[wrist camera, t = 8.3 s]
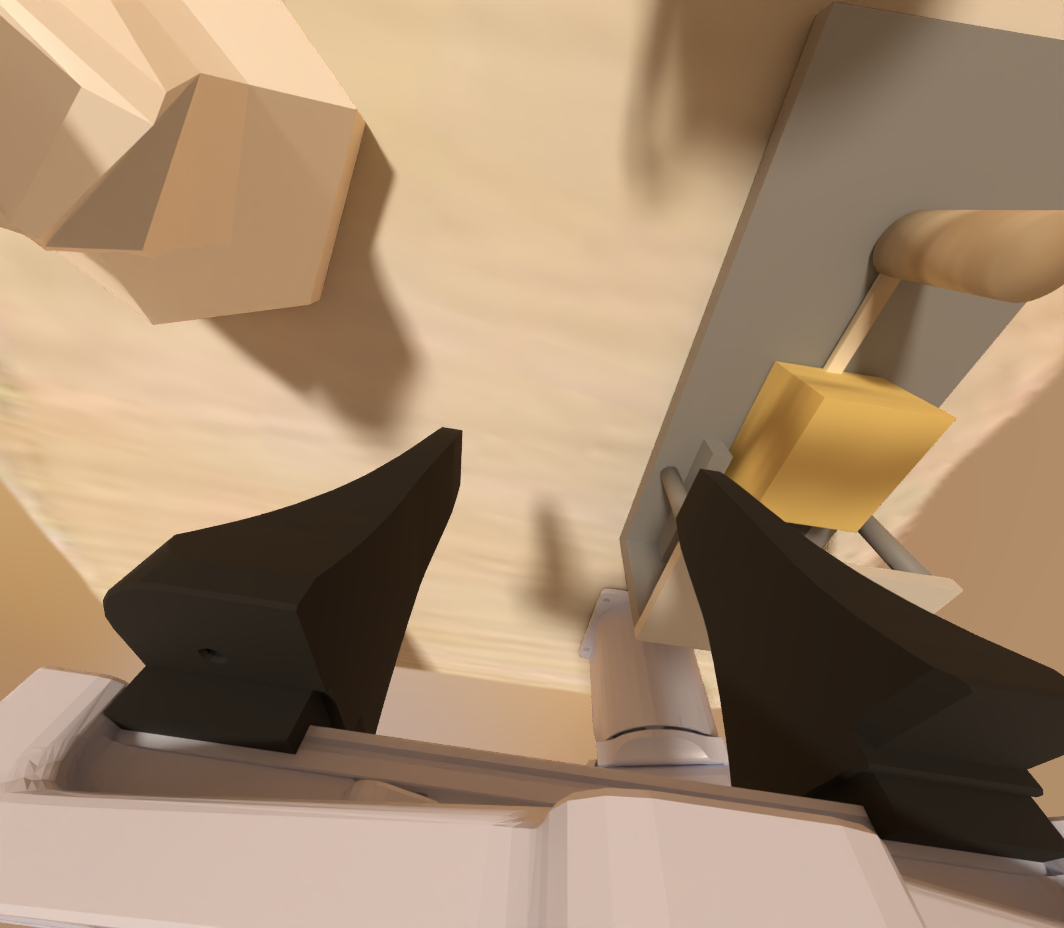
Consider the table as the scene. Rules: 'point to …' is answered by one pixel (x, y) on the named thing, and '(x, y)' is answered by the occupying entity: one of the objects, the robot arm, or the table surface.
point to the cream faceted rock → (175, 150)
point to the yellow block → (872, 402)
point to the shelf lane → (851, 259)
